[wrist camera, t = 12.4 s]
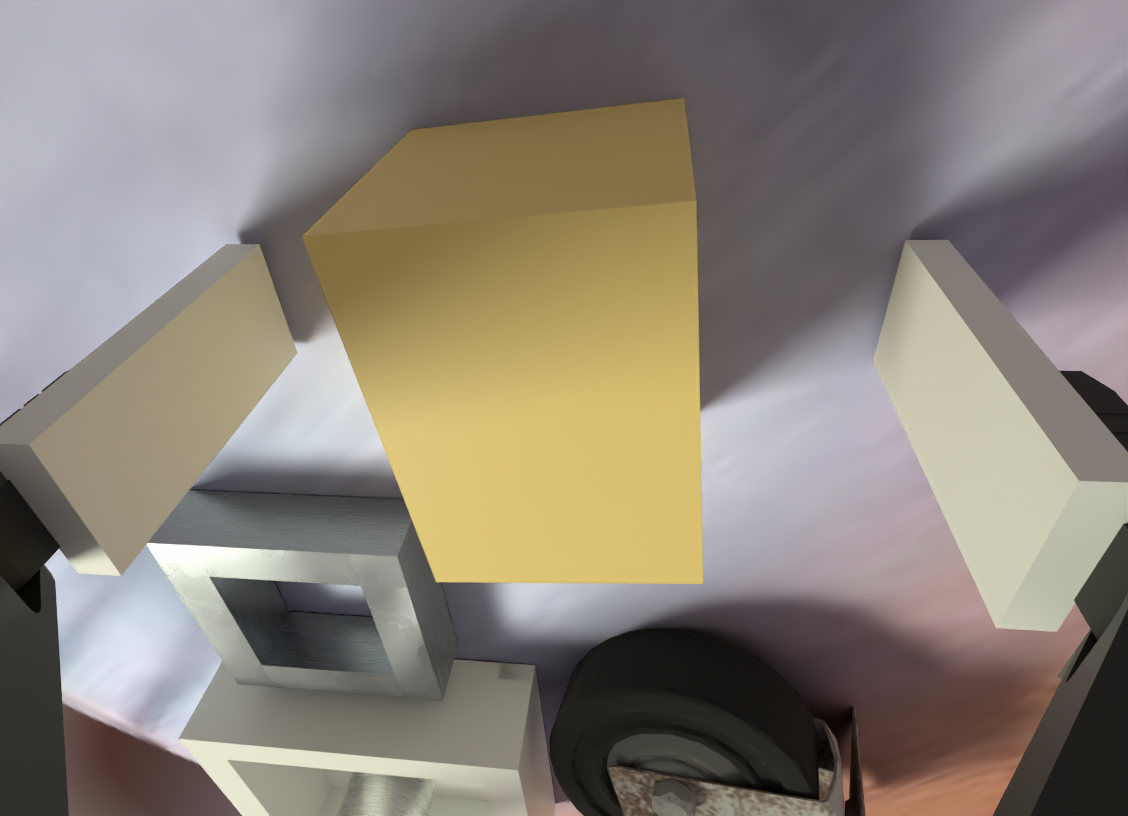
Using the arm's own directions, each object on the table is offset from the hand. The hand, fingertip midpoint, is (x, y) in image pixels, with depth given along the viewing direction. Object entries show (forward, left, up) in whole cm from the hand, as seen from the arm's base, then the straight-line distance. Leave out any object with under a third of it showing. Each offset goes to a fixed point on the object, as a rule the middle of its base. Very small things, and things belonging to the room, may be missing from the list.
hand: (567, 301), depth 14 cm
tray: (+20, -7, 0) cm, 21 cm away
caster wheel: (+17, +4, -1) cm, 17 cm away
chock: (0, 0, 0) cm, 0 cm away
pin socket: (+10, -8, 0) cm, 13 cm away
